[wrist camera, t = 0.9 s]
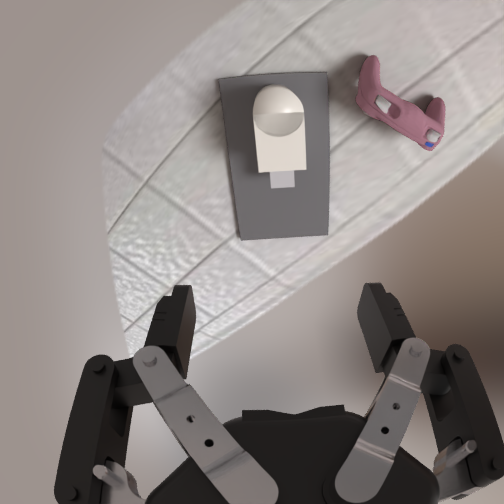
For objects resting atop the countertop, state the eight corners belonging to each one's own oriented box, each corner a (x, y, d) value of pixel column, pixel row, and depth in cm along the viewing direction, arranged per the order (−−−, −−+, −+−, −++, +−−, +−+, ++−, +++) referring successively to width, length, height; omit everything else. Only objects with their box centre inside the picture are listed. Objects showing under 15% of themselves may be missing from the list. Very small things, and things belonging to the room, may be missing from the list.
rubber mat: (219, 79, 25) (218, 79, 25) (326, 72, 24) (327, 72, 24) (241, 238, 36) (240, 240, 35) (327, 232, 35) (328, 235, 34)
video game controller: (346, 81, 26) (350, 119, 23) (367, 48, 22) (378, 80, 19) (420, 124, 28) (434, 167, 25) (444, 98, 24) (464, 139, 21)
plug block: (252, 85, 25) (250, 91, 21) (295, 83, 25) (302, 87, 21) (261, 176, 31) (261, 198, 27) (300, 174, 30) (306, 195, 26)
